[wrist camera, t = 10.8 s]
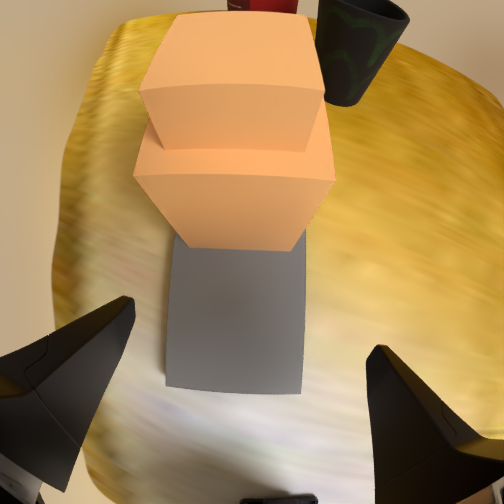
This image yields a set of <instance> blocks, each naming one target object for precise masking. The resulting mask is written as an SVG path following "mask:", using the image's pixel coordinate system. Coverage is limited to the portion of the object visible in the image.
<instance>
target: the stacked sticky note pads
mask: <svg viewBox="0 0 504 504" xmlns="http://www.w3.org/2000/svg"><path fill="white" fill-rule="evenodd" d="M138 91H139V93H140V95H141V98H142V100H143V102H144V105H145V107H146V109H147V112H148V114H149V116H150V117H149V120H148V123H147V126H146V129H145V133H144V136H143V139H142V143H141V146H140V150H139V154H138V157H137V161H136V165H135V169H134V173H133V177H134V178H135V179H136V181H137V182H138V183H139V185H140V186H141V187H142V189H143V190H144V191H145V192H146V194H147V195H148V196H149V198H150V199H151V200H152V202H153V203H154V204H155V205H156V207H157V208H158V209H159V211H160V212H161V213H162V214H163V216H164V217H165V218H166V219H167V221H168V222H169V223H170V224H171V226H172V227H173V228H174V229H175V231H176V232H177V233H178V234H179V236H180V237H181V238H182V239H183V241H184V242H185V243H186V244H187V245H188V247H189V248H210V249H236V250H262V251H288V252H291V250H292V249H293V247H294V245H295V244H296V242H297V241H298V239H299V238H300V236H301V235H302V233H303V232H304V230H305V229H306V227H307V225H308V224H309V222H310V221H311V219H312V218H313V216H314V215H315V213H316V211H317V210H318V208H319V207H320V205H321V204H322V202H323V200H324V199H325V197H326V196H327V194H328V192H329V191H330V189H331V188H332V186H333V184H334V183H335V181H336V179H335V170H334V161H333V153H332V146H331V139H330V132H329V125H328V119H327V113H326V107H325V102H324V93H325V87H324V83H323V78H322V73H321V69H320V65H319V61H318V56H317V52H316V48H315V45H314V41H313V37H312V33H311V30H310V26H309V23H308V20H307V16H305V15H297V14H289V13H278V12H262V11H219V12H203V13H192V14H183V15H177V17H176V18H175V20H174V22H173V23H172V25H171V27H170V28H169V30H168V32H167V34H166V36H165V37H164V39H163V41H162V43H161V45H160V47H159V48H158V50H157V52H156V54H155V56H154V58H153V60H152V62H151V64H150V66H149V68H148V70H147V73H146V75H145V77H144V79H143V81H142V84H141V86H140V88H139V90H138Z"/></svg>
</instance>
